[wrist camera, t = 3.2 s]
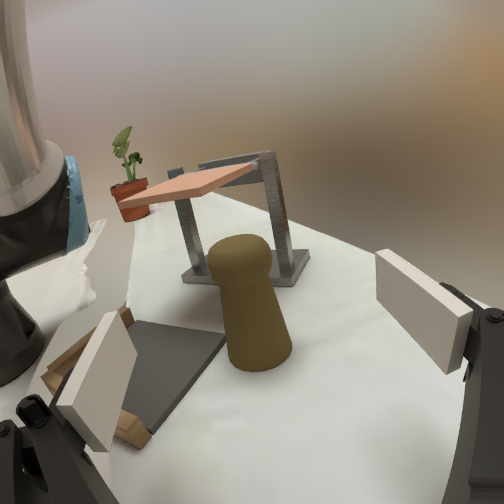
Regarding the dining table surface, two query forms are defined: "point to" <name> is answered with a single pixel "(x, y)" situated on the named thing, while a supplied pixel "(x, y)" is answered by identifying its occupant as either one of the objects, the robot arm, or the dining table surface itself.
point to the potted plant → (133, 184)
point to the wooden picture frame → (127, 423)
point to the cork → (249, 303)
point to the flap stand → (283, 258)
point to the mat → (165, 368)
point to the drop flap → (201, 180)
